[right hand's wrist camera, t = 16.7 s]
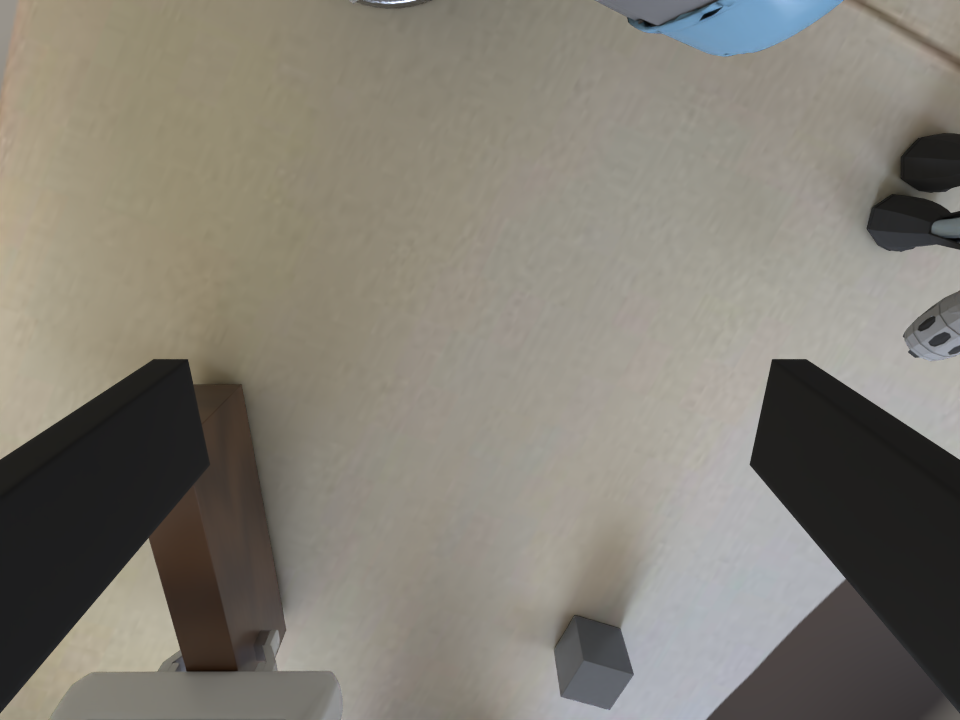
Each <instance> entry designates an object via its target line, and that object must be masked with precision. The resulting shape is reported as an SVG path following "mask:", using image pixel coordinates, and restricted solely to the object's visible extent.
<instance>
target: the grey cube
mask: <svg viewBox="0 0 960 720" xmlns="http://www.w3.org/2000/svg"><path fill="white" fill-rule="evenodd" d="M554 654H555V661H556V668H557V675H558V682H559V688H560V695H561V697H563V698H567V699H570V700H574V701H578V702H581V703H585V704H589V705H592V706H596V707H600V708H603V709H607V710H610V709H611V707H612V706H613V704H614V703H615V701H616V700H617V699H618V697H619V696H620V694H621V693H622V691H623V690H624V688H625V687H626V685H627V684H628V682H629V681H630V679H631V678H632V677H633V675H634V673H633V670H632V666H631V663H630V660H629V656H628V653H627V649H626V646H625V642H624V639H623V635H622V632H621V629H620V628H616V627H613V626H610V625H606V624H603V623H600V622H596V621H593V620H590V619H586V618H583V617H580V616H576V615H574V617H573V619H572V620H571V622H570V624H569V625H568V627H567V629H566V630H565V632H564V634H563V635H562V637H561V639H560V641H559V642H558V644H557V646H556V647H555V649H554Z"/></svg>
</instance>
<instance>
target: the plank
mask: <svg viewBox="0 0 960 720" xmlns="http://www.w3.org/2000/svg"><path fill="white" fill-rule="evenodd" d="M193 386H194V391H195V395H196V400H197V405H198V409H199V414H200V419H201V423H202V428H203V433H204V438H205V442H206V447H207V452H208V456H209V461H210V466H209V467H208V468H207V469H206V470H205V472H204V473H203V474H202V475H201V476H200V477H199V479H198V480H197V481H196V482H195V483H194V485H193V486H192V487H191V488H190V489H189V491H188V492H187V493H186V494H185V495H184V496H183V498H182V499H181V500H180V501H179V502H178V504H177V505H176V506H175V507H174V508H173V509H172V511H171V512H170V513H169V514H168V515H167V517H166V518H165V519H164V520H163V521H162V522H161V524H160V525H159V526H158V527H157V528H156V530H155V531H154V532H153V533H152V534H151V535H150V537H149V540H150V544H151V548H152V551H153V555H154V558H155V562H156V565H157V569H158V572H159V576H160V579H161V583H162V586H163V590H164V593H165V597H166V600H167V604H168V608H169V611H170V615H171V618H172V622H173V625H174V629H175V632H176V636H177V639H178V643H179V646H180V650H181V653H182V657H183V661H184V664H185V668H186V671H187V672H192V671H255V669H256V667H257V665H258V663H260V662H264V663H266V661H257V660H256V656H255V654H256V652H255V651H254V646H253V645H254V643H255V640H256V638H257V637H258V634H259V632H260V631H261V630H278V632H279V638H280V644H281V642H282V639H283V637H284V634H285V632H286V626H285V621H284V615H283V610H282V604H281V599H280V593H279V588H278V582H277V577H276V571H275V566H274V560H273V555H272V549H271V544H270V538H269V533H268V527H267V522H266V516H265V511H264V505H263V500H262V494H261V489H260V483H259V478H258V472H257V467H256V461H255V456H254V450H253V445H252V439H251V434H250V428H249V423H248V417H247V412H246V406H245V401H244V395H243V390H242V385H241V384H206V385H193ZM280 644H279V647H280ZM278 649H279V648H278ZM277 652H278V650H277ZM276 654H277V653H276ZM275 657H276V655H275Z"/></svg>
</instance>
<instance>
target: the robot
mask: <svg viewBox="0 0 960 720" xmlns="http://www.w3.org/2000/svg"><path fill="white" fill-rule="evenodd" d="M901 179H903V180H904V181H905V182H907V183H908V184H910V185H911V186H913V187H914V188H916V189H917V190H919V191H924V192H930V193H932V192H946V191H948V190H949V189H951V188H954V187H958V186H960V134H951V133H943V134H937V135H932V136H927V137H921V138H918V139H917V140H916V141H915V143H914V144H913V145H912V146H911V147H910V148H909V149H908V150H907V151H906V152H905V153H904V154H903V156H902V157H901ZM867 230H868V231H869V233H870V234H871V236H872V237H873V239H874V240H875V241H876V243H877V244H878V245H879V246H880V247H882V248H884V249H886V250H889V251H900V252H902V251H905V250H909V249H913V248H915V247H918V246H928V245H935V244H937V245H942V246H946V247H950V248H955V249H959V250H960V211H958V212H954V213H950V212H949V211H948V210H947V209H946V208H944V207H943V206H941V205H939V204H937V203H935V202H933V201H930V200H927V199H923V198H917V197H910V196H902V195H894V194H892V195H891V196H889V197H887V198H886V199H884V200H883V201H881V202H880V203H878V204H877V205H875V206H874V207H872V211H871V215H870V218H869V222H868V226H867ZM903 337H904V338H905V342H906V344H907V346H908V347H909V349H910V350H909V352H908V353H910V354H911V355H912V356H914V357H915V358H916V357H920V358H923V359H926V360H929V361H936V360H942V359H946V358H950V357H954V356H956V355H958V354H960V291H958V292H956V293H954V294H952V295H949V296H947V297H945V298H944V299H942V300H941V301H939V302H938V303H936V304H935V305H933V306H932V307H931V308H930V309H928V310H927V311H926V312H925V313H923V314H922V315H921V316H920V317H918V318H917V319H916V320H915V321H914V322H913V323H912V324H911V325H910V326H909V327H908V329H907V330H906V331H905V333H904V335H903Z"/></svg>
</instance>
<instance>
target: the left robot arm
mask: <svg viewBox="0 0 960 720" xmlns="http://www.w3.org/2000/svg"><path fill="white" fill-rule="evenodd" d="M279 644H280V638H279V632H278V630H261V631H260V632H259V634H258V637H257V638H256V640H255V643H254V645H253V646H254V651H255V652H256V654H255V656H256V660H257V661H266V663H264V662H260V663H258V665H257V667H256V669H255V671H192V672H187V671H186V668H185V664H184V661H183V657H182V653H181V650H179V651H178V652H177V653H175V654H174V655H173V656H171V657H170V658H168V659H167V660H166V661H164V662H163V663H162V665H161V666H160V668H159V670H158V671H157V672H92V673H89V674H88V675H86V676H84V677H83V678H81V679H80V680H78V681H77V682H75V683H74V684H73V685H72V686H71V687H70V688H69V689H68V691H67V692H66V694H65V695H64V696H63V698H62V699H61V701H60V702H59V704H58V706H57V707H56V709H55V710H54V712H53V713H52V715H51V717H50V718H49V720H341V717H342V711H343V700H342V691H341V686H340V683H339V681H338V680H337V678H336V676H335V675H334V673H333V672H331V671H278V670H277V665H276V660H275V655H276V653H277V650H278V648H279Z"/></svg>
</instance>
